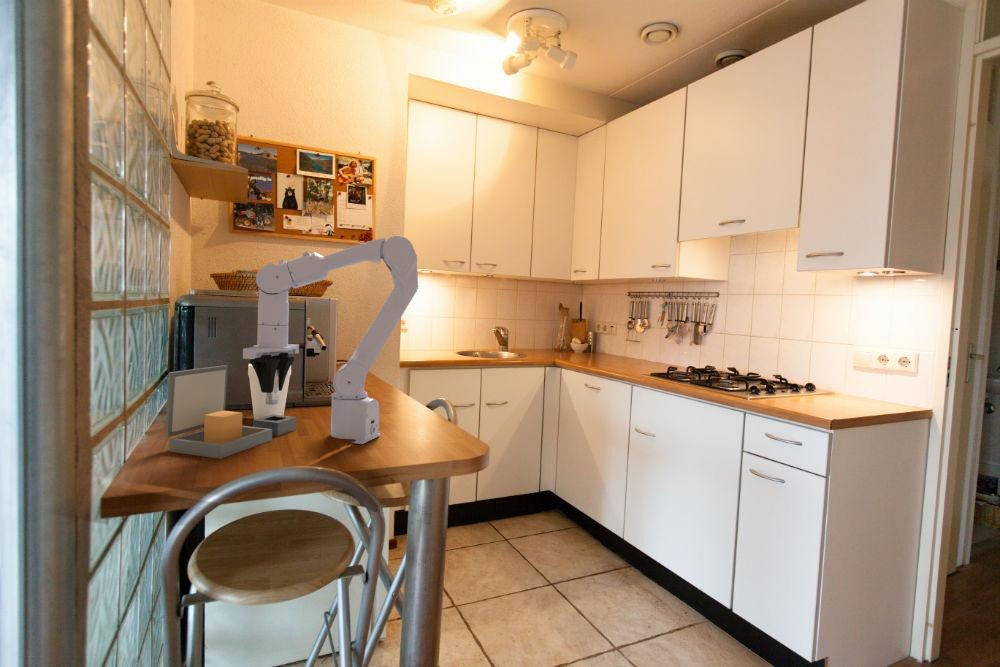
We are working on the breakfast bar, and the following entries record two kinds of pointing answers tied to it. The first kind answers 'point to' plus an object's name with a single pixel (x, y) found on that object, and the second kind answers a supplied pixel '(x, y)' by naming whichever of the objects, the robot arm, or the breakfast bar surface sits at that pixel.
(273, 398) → the white upright cylinder
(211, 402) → the lid
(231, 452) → the grey shallow rectangular tray
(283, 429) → the grey square socket
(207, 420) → the block
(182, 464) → the breakfast bar surface
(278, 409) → the foam cup
